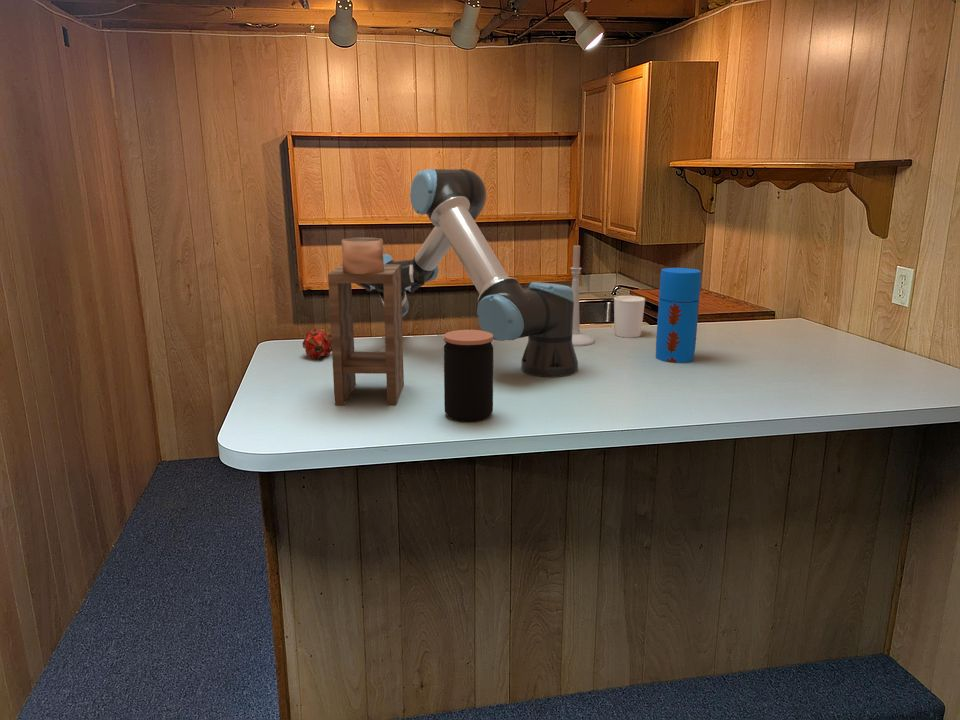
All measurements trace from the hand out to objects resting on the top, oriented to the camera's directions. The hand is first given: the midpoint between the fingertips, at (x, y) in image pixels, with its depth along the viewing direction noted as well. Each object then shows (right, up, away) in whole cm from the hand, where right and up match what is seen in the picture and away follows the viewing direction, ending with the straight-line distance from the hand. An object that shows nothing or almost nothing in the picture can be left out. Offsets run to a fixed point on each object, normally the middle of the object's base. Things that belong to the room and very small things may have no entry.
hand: (385, 268), depth 193 cm
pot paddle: (-1, -2, -24) cm, 24 cm away
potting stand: (-1, -33, -21) cm, 39 cm away
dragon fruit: (-21, -24, +13) cm, 34 cm away
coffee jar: (+23, -37, -34) cm, 55 cm away
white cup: (+73, -17, +40) cm, 85 cm away
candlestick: (+54, -19, +32) cm, 66 cm away
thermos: (+81, -24, +12) cm, 85 cm away
